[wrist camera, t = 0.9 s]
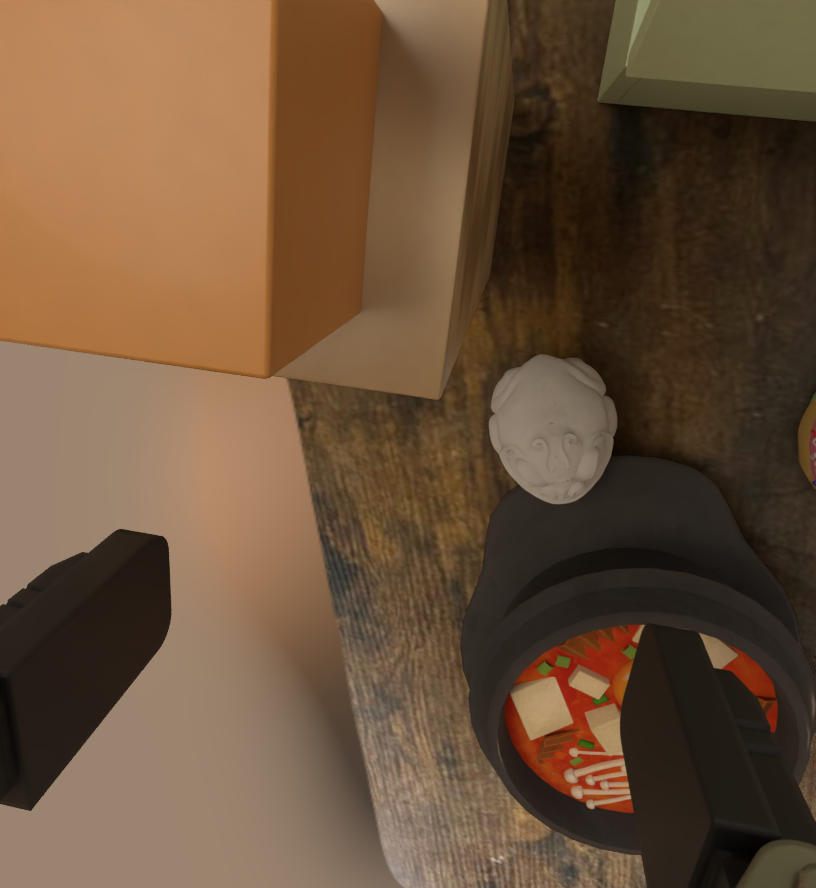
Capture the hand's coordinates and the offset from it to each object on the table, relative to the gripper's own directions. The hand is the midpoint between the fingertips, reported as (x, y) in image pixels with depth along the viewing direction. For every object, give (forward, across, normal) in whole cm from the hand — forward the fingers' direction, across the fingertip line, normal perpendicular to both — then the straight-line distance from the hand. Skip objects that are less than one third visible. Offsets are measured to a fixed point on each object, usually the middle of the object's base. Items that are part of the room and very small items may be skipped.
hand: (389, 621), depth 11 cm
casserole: (+25, -11, +17) cm, 33 cm away
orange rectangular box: (+3, +4, -7) cm, 9 cm away
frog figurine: (+26, -4, +3) cm, 26 cm away
